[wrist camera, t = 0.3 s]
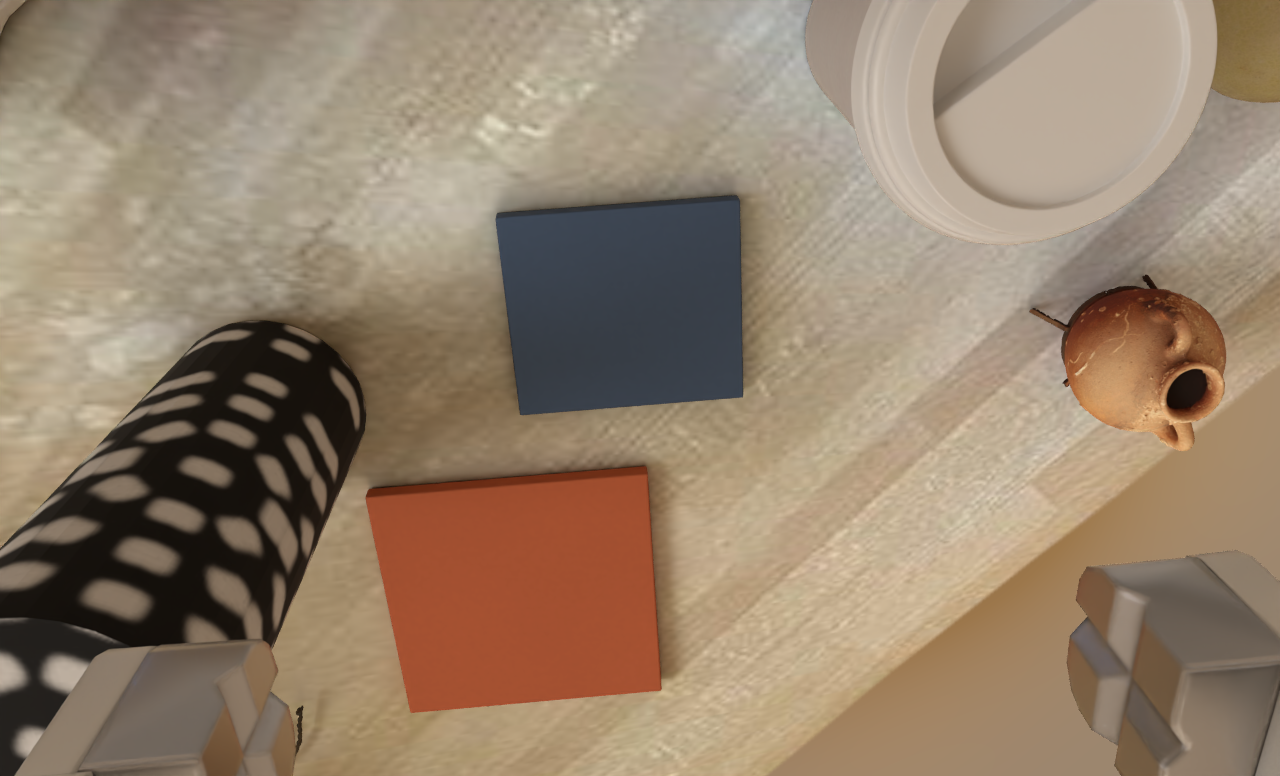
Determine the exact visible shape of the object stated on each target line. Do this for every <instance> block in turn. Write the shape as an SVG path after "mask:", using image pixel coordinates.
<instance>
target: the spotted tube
mask: <svg viewBox="0 0 1280 776" xmlns="http://www.w3.org/2000/svg"><path fill="white" fill-rule="evenodd" d="M365 422H366V409H365V401H364V396H363V394H362V391H361V388H360V385H359V382H358V380H357V379H356V377H355V375H354V374H353V372H352V370H351V368H350V367H349V366H348V364H347V363H346V362H345V361H344V360H343V359H342V358H341V356H340V355H339V354H338V353H337V352H336V351H335V350H333V349H332V348H331V347H330V346H328V345H327V344H326V343H325V342H323V341H322V340H320V339H319V338H317V337H315V336H313V335H311V334H310V333H308V332H306V331H304V330H301V329H298V328H295V327H292V326H290V325H287V324H282V323H276V322H270V321H244V322H239V323H234V324H229V325H226V326H223V327H221V328H219V329H216V330H214V331H212V332H210V333H208V334H207V335H206V336H204V337H203V338H201V339H200V340H198V341H197V342H196V343H195V344H194V345H193V346H192V347H191V348H190V349H189V350H188V351H187V352H186V353H185V354H184V356H183V357H182V358H181V359H180V360H179V361H178V362H177V363H176V364H175V365H174V366H173V367H172V368H171V369H170V370H169V371H168V372H167V373H166V374H165V376H164V377H163V378H162V379H161V380H160V381H159V382H158V383H157V384H156V385H155V386H154V387H153V388H152V389H151V390H150V391H149V392H148V393H147V394H146V396H145V397H144V398H143V399H142V400H141V401H140V402H139V403H138V404H137V405H136V406H135V407H134V408H133V409H132V410H131V411H130V412H129V413H128V415H127V416H126V417H125V418H124V419H123V420H122V421H121V422H120V423H119V424H118V425H117V426H116V427H115V428H114V429H113V430H112V431H111V432H110V433H109V435H108V436H107V437H106V438H105V439H104V440H103V441H102V442H101V443H100V444H99V445H98V446H97V447H96V448H95V449H94V450H93V451H92V452H91V454H90V455H89V456H88V457H87V458H86V459H85V460H84V461H83V462H82V463H81V464H80V465H79V466H78V467H77V468H76V469H75V470H74V471H73V472H72V474H71V475H70V476H69V477H68V478H67V479H66V480H65V481H64V482H63V483H62V484H61V485H60V486H59V487H58V488H57V489H56V490H55V491H54V492H53V494H52V495H51V496H50V497H49V498H48V499H47V500H46V501H45V502H44V503H43V504H42V505H41V506H40V507H39V508H38V509H37V510H36V511H35V513H34V514H33V515H32V516H31V517H30V518H29V519H28V520H27V521H26V522H25V523H24V524H23V525H22V526H21V527H20V528H19V529H18V530H17V531H16V533H15V534H14V535H13V536H12V537H11V538H10V539H9V540H8V541H7V542H6V543H5V544H4V545H3V546H2V547H1V548H0V776H15V774H16V773H17V771H18V770H19V768H20V767H21V765H22V764H23V762H24V761H25V759H26V758H27V756H28V755H29V753H30V752H31V750H32V749H33V747H34V746H35V744H36V743H37V742H38V740H39V739H40V737H41V736H42V734H43V733H44V731H45V730H46V728H47V727H48V725H49V724H50V722H51V721H52V719H53V718H54V716H55V715H56V713H57V712H58V710H59V709H60V707H61V706H62V704H63V703H64V701H65V700H66V699H67V697H68V696H69V694H70V693H71V691H72V690H73V688H74V687H75V685H76V684H77V682H78V681H79V679H80V678H81V676H82V675H83V673H84V672H85V670H86V669H87V667H88V666H89V664H90V663H91V661H92V660H93V659H94V658H95V656H97V655H99V654H101V653H103V652H105V651H107V650H108V649H119V648H133V647H146V646H157V647H158V646H160V645H168V644H183V643H198V642H213V641H229V640H244V639H259V638H260V639H261V640H263V641H265V642H266V643H268V644H269V645H270V648H271V650H272V648H273V646H274V644H275V641H276V639H277V637H278V634H279V632H280V630H281V627H282V625H283V623H284V620H285V618H286V616H287V613H288V611H289V609H290V606H291V604H292V602H293V599H294V597H295V595H296V592H297V590H298V588H299V585H300V583H301V581H302V578H303V576H304V574H305V571H306V569H307V567H308V564H309V562H310V560H311V557H312V555H313V553H314V550H315V548H316V546H317V543H318V541H319V539H320V536H321V534H322V532H323V529H324V527H325V525H326V522H327V520H328V518H329V515H330V513H331V511H332V508H333V506H334V504H335V501H336V499H337V497H338V494H339V492H340V490H341V487H342V485H343V483H344V480H345V478H346V476H347V473H348V471H349V469H350V466H351V464H352V462H353V459H354V457H355V455H356V452H357V450H358V448H359V445H360V442H361V440H362V437H363V434H364V431H365Z"/></svg>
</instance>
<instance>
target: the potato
mask: <svg viewBox="0 0 1280 776" xmlns="http://www.w3.org/2000/svg"><path fill="white" fill-rule="evenodd" d="M1212 1H1213V5H1214V10H1215V15H1216V23H1217V57H1216V65H1215V71H1214V76H1213V81H1212V85H1211V88H1212V89H1214V90H1216V91H1217V92H1219V93H1220V94H1222V95H1225V96H1228V97H1230V98H1234V99H1238V100H1243V101H1249V102H1262V103H1265V102H1280V0H1212Z"/></svg>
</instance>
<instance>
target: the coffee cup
mask: <svg viewBox="0 0 1280 776" xmlns="http://www.w3.org/2000/svg"><path fill="white" fill-rule="evenodd" d="M805 46H806V54H807V59H808V63H809V66H810V69H811V72H812V74H813V76H814V78H815V80H816V82H817V83H818V85H819V87H820V88H821V89H822V91H823V92H824V93H825V94H826V96H827V97H828V98H829V99H830V100H831V102H832V103H833V104H834V105H835V106H836V107H837V109H838V110H839V111H840V112H841V113H842V115H843V116H844V117H845V118H846V119H847V120H848V122H849V123H850V124H851V125H852V126H853V128H854V129H855V131H856V135H857V139H858V142H859V145H860V148H861V151H862V154H863V156H864V159H865V161H866V163H867V165H868V167H869V169H870V171H871V173H872V174H873V176H874V178H875V179H876V181H877V183H878V184H879V185H880V187H881V188H882V189H883V191H884V192H885V193H886V194H887V196H888V197H889V198H890V199H891V200H892V201H893V202H894V203H895V204H896V205H897V206H898V207H899V208H900V209H901V210H902V211H903V212H905V213H906V214H907V215H908V216H910V217H911V218H913V219H914V220H915V221H917V222H919V223H920V224H922V225H924V226H925V227H927V228H929V229H931V230H933V231H935V232H938V233H940V234H943V235H945V236H948V237H951V238H955V239H958V240H963V241H967V242H973V243H982V244H995V245H1013V244H1024V243H1031V242H1037V241H1041V240H1046V239H1050V238H1053V237H1057V236H1060V235H1063V234H1066V233H1069V232H1072V231H1075V230H1077V229H1079V228H1082V227H1084V226H1086V225H1088V224H1091V223H1093V222H1095V221H1098V220H1100V219H1102V218H1104V217H1106V216H1108V215H1110V214H1112V213H1113V212H1115V211H1117V210H1119V209H1120V208H1122V207H1123V206H1125V205H1126V204H1128V203H1129V202H1131V201H1132V200H1134V199H1135V198H1136V197H1137V196H1139V195H1140V194H1141V193H1142V192H1144V191H1145V190H1146V189H1147V188H1148V187H1149V186H1150V185H1152V184H1153V183H1154V182H1155V181H1156V180H1157V179H1158V178H1159V177H1160V176H1161V175H1162V174H1163V172H1164V171H1165V170H1166V169H1167V168H1168V167H1169V166H1170V164H1171V163H1172V162H1173V161H1174V159H1175V158H1176V157H1177V155H1178V154H1179V153H1180V151H1181V150H1182V148H1183V147H1184V145H1185V144H1186V142H1187V141H1188V139H1189V137H1190V136H1191V134H1192V132H1193V130H1194V128H1195V127H1196V125H1197V123H1198V120H1199V118H1200V116H1201V114H1202V112H1203V109H1204V107H1205V104H1206V101H1207V98H1208V95H1209V92H1210V89H1211V85H1212V81H1213V76H1214V71H1215V65H1216V57H1217V23H1216V15H1215V10H1214V5H1213V1H1212V0H813V2H812V5H811V8H810V11H809V14H808V18H807V24H806V32H805Z"/></svg>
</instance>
